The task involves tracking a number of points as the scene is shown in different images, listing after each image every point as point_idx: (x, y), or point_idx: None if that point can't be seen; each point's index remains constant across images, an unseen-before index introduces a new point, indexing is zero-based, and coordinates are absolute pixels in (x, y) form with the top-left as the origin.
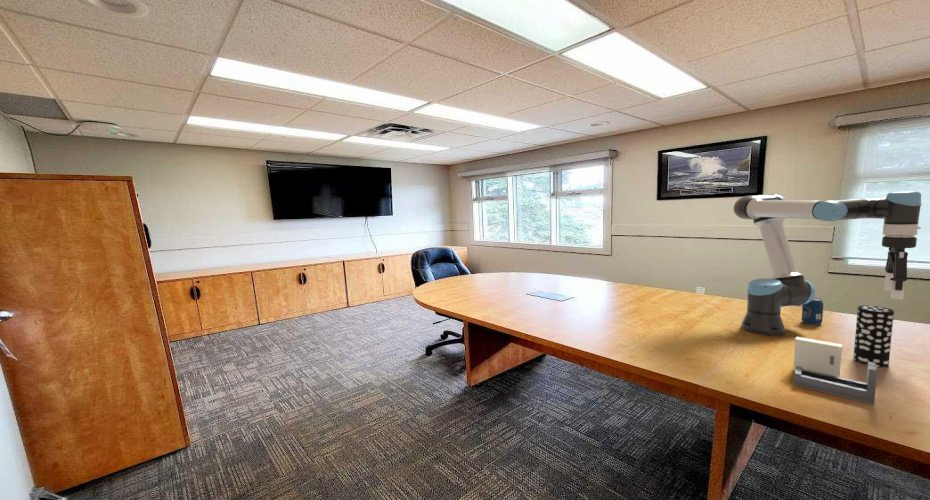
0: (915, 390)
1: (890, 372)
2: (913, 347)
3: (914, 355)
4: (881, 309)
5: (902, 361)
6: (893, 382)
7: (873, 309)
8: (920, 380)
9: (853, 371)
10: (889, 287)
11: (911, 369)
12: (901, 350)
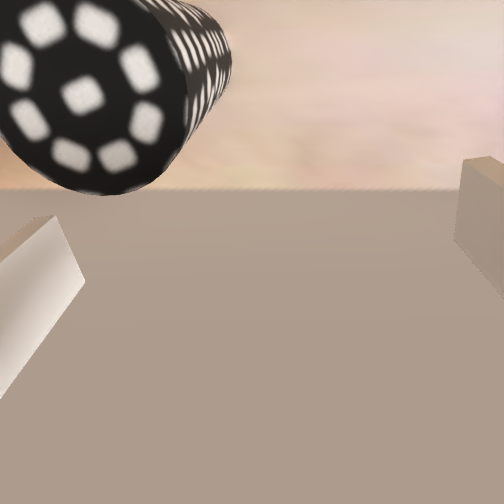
0: (15, 176)
1: None
2: None
3: (374, 171)
4: (96, 132)
5: (272, 144)
6: None
7: (49, 86)
8: None
9: None
10: (474, 212)
11: (203, 166)
12: (415, 138)
